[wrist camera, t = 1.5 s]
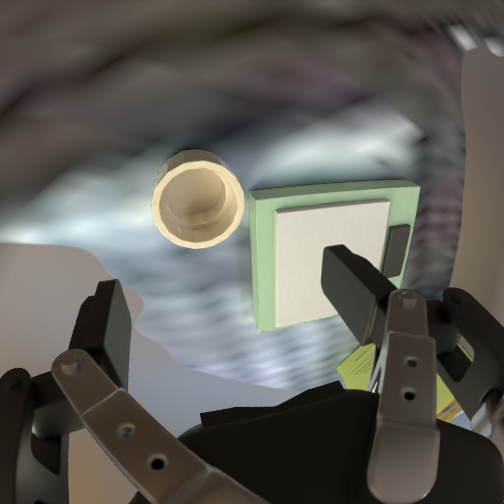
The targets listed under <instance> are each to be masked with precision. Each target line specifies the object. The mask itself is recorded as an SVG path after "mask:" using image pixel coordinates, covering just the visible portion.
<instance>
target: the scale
mask: <svg viewBox="0 0 504 504" xmlns="http://www.w3.org/2000/svg"><path fill="white" fill-rule="evenodd" d="M419 192H420V186H419V185H417V184H415V183H413V182H411V181H409V180H407V179H399V180H377V181H358V182H343V183H329V184H316V185H304V186H292V187H282V188H272V189H262V190H253V191H249V215H250V239H251V262H252V286H253V310H254V320H255V322H256V325H257V327H258V330H259V332H260V333H261V332H266V331H271V330H276V329H281V328H285V327H290V326H294V325H299V324H303V323H307V322H312V321H316V320H320V319H324V318H328V317H332V316H336V315H339V314H338V312H337V311H336V310H335V308H334V307H333V306H332V304H331V303H330V301H329V300H328V299H327V297H326V296H325V295H324V293H323V291H322V287H321V270H322V258H323V250H324V248H325V247H326V246H332V245H338V244H344V245H345V246H346V247H347V248H348V249H349V250H351V251H352V252H353V253H354V254H358V255H360V256H362V257H364V258H366V259H367V260H368V261H369V262H371V263H372V264H373V265H374V267H376V268H377V269H378V270H379V271H380V273H382V274H383V275H384V276H385V277H386V278H387V279H389V280H390V281H391V282H392V283H393V284H394V285H395V286H396V287H397V288H398V289H399V288H400V284H401V280H402V276H403V272H404V268H405V264H406V260H407V256H408V251H409V247H410V242H411V237H412V232H413V227H414V222H415V216H416V211H417V205H418V199H419Z"/></svg>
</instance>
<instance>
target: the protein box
mask: <svg viewBox="0 0 504 504" xmlns="http://www.w3.org/2000/svg"><path fill="white" fill-rule="evenodd" d="M457 345H458V346H459V347H460V348H461V349H462V351H463V352H464V353H465V354H466V355H467V357H468V358H469V359H470V360H471V361H472V362H473V360H474V359H473V358H472V357H471V355H470V354H469V353H468V352H467V351H466V350H465V348H464V347H463V346H462V345H461V344H460V343H459V342H458V343H457ZM375 347H376V346H375V345H374V343H372V344H369V345H366V346H363V347H362V346H361V345H360V346H359V347H358V348H357V349H356V350H355V351H354V352H353V353H352V354H351V355H350V356H349V357H347V358H346V359H345V360H344V361H343V362H342V363H341V364H340V365H339V366H337V368H336V370H337V371H338V373H339V375H340V377H341V378H342V380H343V382H344V384H345V385H346V387H347V389H361V390H367V386H368V381H369V376H370V371H371V365H372V359H373V353H374V350H375ZM461 410H462V408H461V406H460V405H459V403H458V402H457V401H456V399H455V398H454V396H453V395H452V393H451V392H450V391H449V389H448V388H447V386H446V385H445V384H444V382H443V381H442V379H441V378H440V377H439V375H438V374H437V411H436V418H438V419H441V420H443V421H446V422H449V421H450V420H452V419H453V418H454V417H455V416H456V415H457V414H458V413H459V412H460V411H461Z"/></svg>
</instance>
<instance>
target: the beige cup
mask: <svg viewBox="0 0 504 504" xmlns="http://www.w3.org/2000/svg"><path fill="white" fill-rule="evenodd" d="M244 209H245V203H244V191H243V189H242V187H241V185H240V183H239V181H238V179H237V177H236V176H235V175H234V173H233V172H232V171H231V170H230V168H229V167H228V166H227V164H226V163H225V162H224V161H223V160H221V159H220V158H219V157H218V156H216V155H215V154H213V153H211V152H208V151H204V150H201V149H193V150H185V151H181V152H179V153H178V154H176V155H174V156H172V157H170V158H169V159H168V160H167V161H166V162H165V164H164V165H163V166H162V167H161V169H160V170H159V172H158V175H157V179H156V182H155V187H154V192H153V198H152V211H153V217H154V221H155V224H156V225H157V227H158V228H159V230H160V231H161V233H162V234H163V235H164V236H165V237H166V238H168V239H169V240H171V241H172V242H174V243H175V244H177V245H179V246H183V247H188V248H193V249H198V248H204V247H211V246H214V245H216V244H217V243H219V242H221V241H223V240H225V239H227V238H228V237H229V236H230V235H231V233H232V232H233V231H234V230H235V229H236V228H237V227H238V225H239V223H240V221H241V218H242V215H243V213H244Z"/></svg>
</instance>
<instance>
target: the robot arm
mask: <svg viewBox="0 0 504 504" xmlns="http://www.w3.org/2000/svg"><path fill="white" fill-rule="evenodd" d="M321 287H322V291H323V293H324V295H325V296H326V297H327V299H328V300H329V301H330V303H331V304H332V306H333V307H334V308H335V310H336V311H337V312H338V314H339V315H340V316H341V318H342V319H343V321H344V322H345V323H346V325H347V326H348V328H349V329H350V330H351V332H352V333H353V334H354V336H355V337H356V339H357V340H358V341H359V343H360V344H361V346H362V347H363V346H366V345H369V344H372V343H374V345H375V346H376V347H375V350H374V353H373V359H372V365H371V371H370V376H369V381H368V386H367V390H361V389H344V388H343V386H342V385H341V383H340V381H339V380H338V381H335V382H332V383H329V384H325V385H322V386H319V387H315V388H312V389H308V390H306V391H304V392H302V393H301V394H299V395H297V396H295V397H293V398H291V399H289V400H287V401H285V402H283V403H282V404H280V405H277V406H274V407H233V408H228V409H222V410H217V411H211V412H205V413H200V417H201V422H202V423H201V424H199V425H196V426H194V427H192V428H190V429H189V430H187V431H185V432H184V433H183V434H181V435H180V436H179V437H177V438H175V437H174V436H173V435H172V434H171V433H170V432H169V431H167V430H166V429H165V428H164V427H163V426H162V425H161V424H160V423H159V422H158V421H156V420H155V419H154V418H153V417H152V416H151V415H150V414H149V413H148V412H147V411H146V410H145V409H144V408H143V407H142V406H141V405H140V404H139V403H138V402H137V401H136V400H135V399H134V398H133V397H132V396H131V395H130V394H129V393H128V371H129V354H130V340H131V328H132V327H131V317H130V312H129V310H128V306H127V303H126V300H125V297H124V294H123V291H122V287H121V284H120V282H119V280H118V279H113V280H106V281H100V282H99V283H98V286H97V289H96V293H95V296H89V297H88V298H87V299H86V300H85V301H84V302H83V304H82V305H81V307H80V310H79V314H78V317H77V320H76V325H75V327H74V330H73V334H72V337H71V341H70V344H69V348H68V350H67V351H65V352H63V353H62V354H60V355H59V356H58V357H57V358H56V359H55V360H54V362H53V364H52V368H51V371H49V372H46V373H43V374H40V375H38V376H34V377H31V376H30V374H29V373H28V372H27V370H25V369H23V368H14V369H11V370H9V371H7V372H6V373H5V374H4V375H3V376H2V377H1V378H0V504H69V489H68V447H69V433H71V432H74V431H77V430H80V429H83V428H86V429H87V430H88V432H89V433H90V434H91V436H92V437H93V438H94V439H95V441H96V442H97V443H98V445H99V446H100V447H101V448H102V450H103V451H104V452H105V453H106V454H107V456H108V457H109V458H110V459H111V461H112V462H113V463H114V464H115V465H116V466H117V468H118V469H119V470H120V471H121V472H122V473H123V474H124V476H125V477H126V478H127V479H128V480H129V481H130V482H131V483H132V484H133V485H134V486H135V487H136V488H137V490H138V491H137V493H136V494H135V496H134V497H133V498H132V500H131V501H130V502H129V504H504V327H503V326H502V325H501V324H500V323H499V322H498V321H497V320H496V319H495V318H494V317H493V316H492V315H491V314H490V313H489V312H488V311H487V310H486V309H485V308H484V307H483V306H482V305H481V304H480V303H479V302H478V301H477V300H475V299H474V298H473V297H472V296H471V295H470V294H469V293H467V292H466V291H464V290H462V289H459V288H447V289H445V290H444V291H443V294H442V297H441V300H429V301H425V299H424V297H423V296H422V295H421V294H419V293H417V292H416V291H413V290H410V289H398V288H397V287H396V286H395V285H394V284H393V283H392V282H391V281H390V280H389V279H387V278H386V277H385V276H384V275H383V274H382V273H380V271H379V270H378V269H377V268H376V267H374V265H373V264H372V263H371V262H369V261H368V260H367V259H366V258H364V257H362V256H360V255H358V254H354V253H353V252H352V251H351V250H349V249H348V248H347V247H346V246H345V245H344V244H338V245H332V246H326V247H325V248H324V250H323V258H322V270H321ZM461 335H462V336H463V337H464V338H465V339H466V340H467V342H468V343H469V344H470V345H471V346H472V348H473V350H474V360H473V362H472V361H471V360H470V359H469V358H468V357H467V355H466V354H465V353H464V352H463V351H462V349H461V348H460V347H459V346H458V345H457V343H458V341H459V339H460V337H461ZM437 374H438V375H439V377H440V378H441V379H442V381H443V382H444V384H445V385H446V386H447V388H448V389H449V391H450V392H451V393H452V395H453V396H454V398H455V399H456V401H457V402H458V403H459V405H460V406H461V408H462V409H463V411H464V412H465V414H466V415H467V417H468V418H469V420H470V421H471V428H472V431H470V430H467V429H465V428H462V427H459V426H456V425H454V424H451V423H448V422H446V421H443V420H441V419H438V418H436V411H437Z"/></svg>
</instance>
